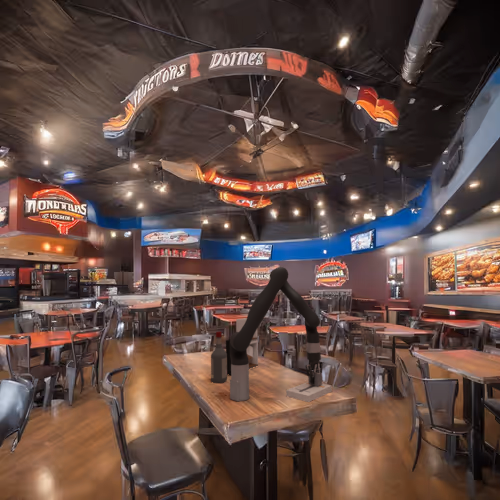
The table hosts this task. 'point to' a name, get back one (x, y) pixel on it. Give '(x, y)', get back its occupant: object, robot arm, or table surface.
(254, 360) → the display case
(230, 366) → the portable radio
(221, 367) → the liquor
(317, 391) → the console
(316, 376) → the fader knob
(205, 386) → the table surface
